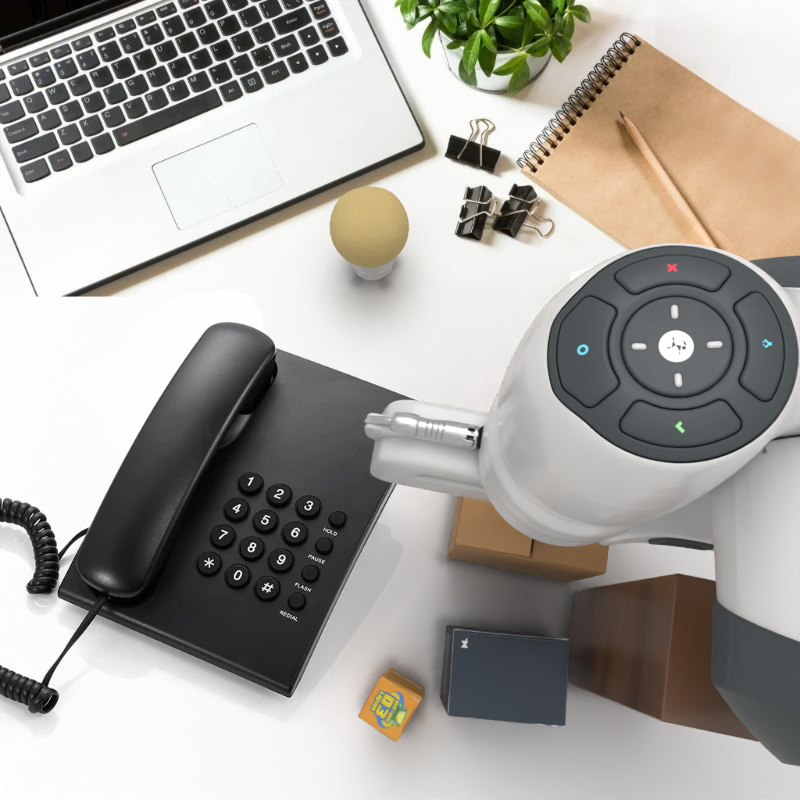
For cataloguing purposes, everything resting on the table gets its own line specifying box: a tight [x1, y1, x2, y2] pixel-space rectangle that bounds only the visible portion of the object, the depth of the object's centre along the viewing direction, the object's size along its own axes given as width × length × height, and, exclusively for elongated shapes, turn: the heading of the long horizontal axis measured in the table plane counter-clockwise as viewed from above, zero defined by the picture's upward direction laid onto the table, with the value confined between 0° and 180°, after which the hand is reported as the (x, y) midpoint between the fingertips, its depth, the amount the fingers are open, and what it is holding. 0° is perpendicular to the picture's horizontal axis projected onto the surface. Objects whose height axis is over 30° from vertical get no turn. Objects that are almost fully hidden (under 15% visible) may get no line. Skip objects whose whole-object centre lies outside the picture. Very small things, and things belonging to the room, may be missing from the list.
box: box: [439, 624, 570, 728], centre depth 57 cm, size 8×6×11 cm
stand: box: [568, 572, 760, 743], centre depth 51 cm, size 7×7×25 cm
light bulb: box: [329, 185, 410, 281], centre depth 66 cm, size 6×6×10 cm
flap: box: [456, 497, 532, 557], centre depth 53 cm, size 5×8×1 cm, turn 169°
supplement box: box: [357, 667, 425, 743], centre depth 57 cm, size 3×3×10 cm
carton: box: [446, 496, 610, 583], centre depth 59 cm, size 10×8×12 cm
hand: (528, 494), depth 52 cm, fingers closed
